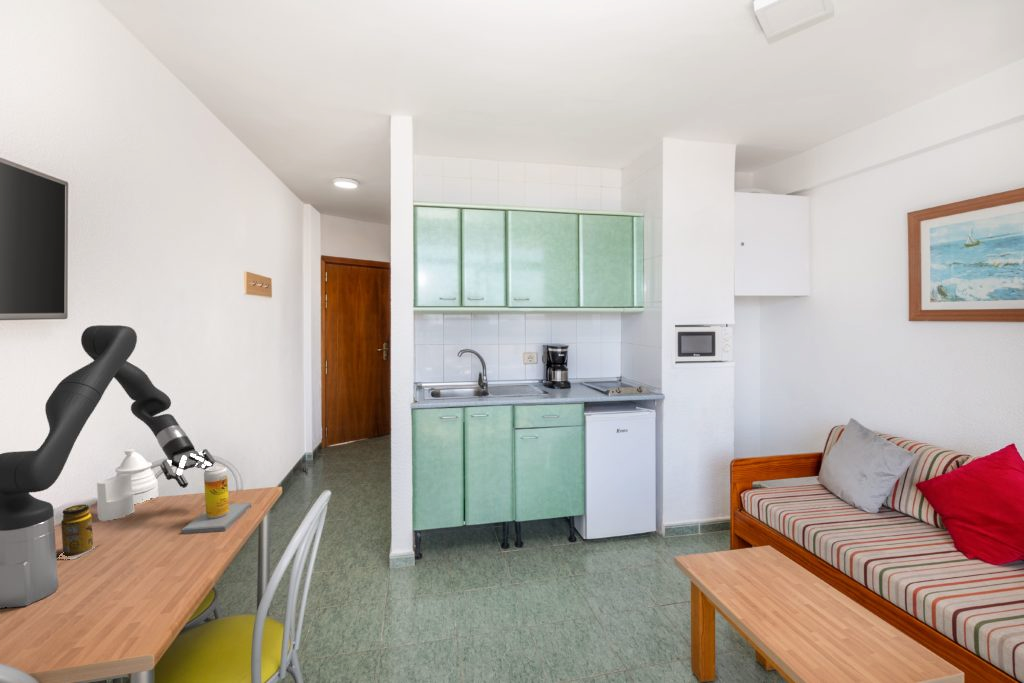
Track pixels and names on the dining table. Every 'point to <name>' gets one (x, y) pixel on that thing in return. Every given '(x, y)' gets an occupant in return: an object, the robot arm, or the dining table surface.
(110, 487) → the base with upright slab
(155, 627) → the dining table surface
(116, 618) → the dining table surface
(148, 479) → the honey pot
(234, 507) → the grey flat slab
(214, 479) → the beer can
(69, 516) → the condiment
